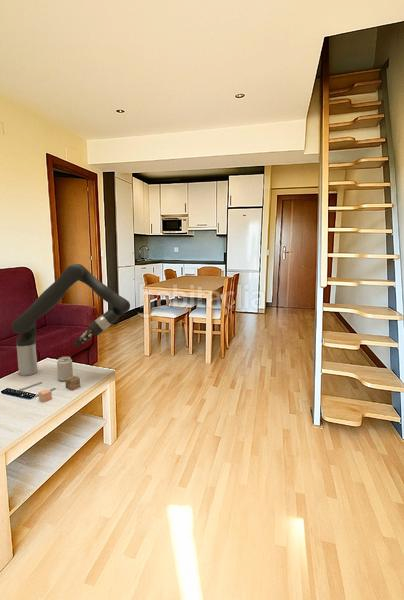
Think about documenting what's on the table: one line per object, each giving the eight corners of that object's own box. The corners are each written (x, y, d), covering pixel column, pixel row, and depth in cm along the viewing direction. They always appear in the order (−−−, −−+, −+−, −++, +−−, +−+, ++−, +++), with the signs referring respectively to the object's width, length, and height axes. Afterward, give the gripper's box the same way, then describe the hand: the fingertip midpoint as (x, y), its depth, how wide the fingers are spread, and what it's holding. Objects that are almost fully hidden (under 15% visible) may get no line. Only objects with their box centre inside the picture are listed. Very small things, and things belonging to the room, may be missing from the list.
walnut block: (65, 388, 154) (65, 379, 153) (74, 384, 158) (73, 375, 158) (71, 390, 152) (71, 381, 151) (80, 387, 156) (79, 377, 155)
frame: (17, 390, 150) (17, 390, 150) (40, 382, 160) (40, 381, 160) (32, 398, 143) (32, 397, 143) (56, 389, 153) (55, 388, 153)
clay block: (39, 400, 142) (38, 392, 141) (47, 396, 145) (46, 389, 144) (43, 402, 140) (43, 394, 139) (51, 399, 143) (51, 391, 142)
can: (67, 382, 161) (66, 361, 159) (55, 381, 162) (53, 360, 160) (75, 376, 168) (74, 356, 166) (64, 375, 169) (62, 355, 167)
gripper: (95, 318, 171) (71, 337, 166) (95, 321, 157) (69, 341, 153) (103, 328, 173) (80, 347, 168) (105, 332, 159) (79, 352, 155)
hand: (75, 344), depth 161 cm, fingers open, 8 cm apart
